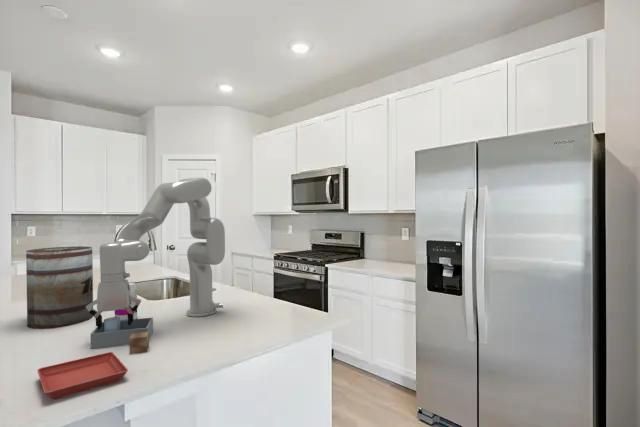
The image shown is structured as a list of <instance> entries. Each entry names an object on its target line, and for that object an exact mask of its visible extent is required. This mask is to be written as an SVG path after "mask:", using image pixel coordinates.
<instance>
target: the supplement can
mask: <svg viewBox="0 0 640 427" xmlns="http://www.w3.org/2000/svg"><path fill="white" fill-rule="evenodd" d="M129 286H130V293H131V296H133V297H135V298H138V287H137V285H136V283H135V282H129ZM135 304H136V302H133V301H131V305H130V306H131V307H132V308H133V307H134V306H135ZM128 314H129V313H128V312H127V311H126V310H125V309H123V310H114V317H120V320H128ZM133 319H138V308H137V309H136V310H135V311H134V312H133Z"/></svg>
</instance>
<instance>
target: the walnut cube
mask: <svg viewBox="0 0 640 427" xmlns="http://www.w3.org/2000/svg"><path fill="white" fill-rule="evenodd" d="M128 347H129V355H131V354H132V355H134V354H141V353H147V352H148V350H149V348H150V339H149V332H142V333H133V334H132V335H131V337H130V338H129V345H128ZM133 353H134V354H133Z"/></svg>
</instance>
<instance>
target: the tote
mask: <svg viewBox="0 0 640 427" xmlns="http://www.w3.org/2000/svg"><path fill="white" fill-rule="evenodd" d="M153 331H154V317H143V318H136V319H133V322H132V323H131V325H128V320H120V330H119V331H109V332H104V321H102V327H101V328H100V329H98V326H95V328H94V330H93V331H92V332H90V350H93V349H101V348H111V347H118V346H119V347H121V346H129V338H130V337H131V335H132V334H133V333H142V332H149V340H150V339H151V336H152V334H153Z"/></svg>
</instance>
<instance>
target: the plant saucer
mask: <svg viewBox="0 0 640 427" xmlns="http://www.w3.org/2000/svg"><path fill="white" fill-rule="evenodd" d="M115 354H116V353H114V352H112V351H109V352H104V353H101V354H96V355H91V356H86V357H82V358H79V359H73V360H70V361H65V362H61V363H57V364H53V365H48V366H44V367H40V368H38V369H36V370H37V375H38V377H39V380H40V383H41V387H42V389H43V392H44V394H45V395H46V396H47V397H49V398H51V399H52V400H57V399H61V398H64V397H67V396H72V395H74V394H78V393H81V392H85V391H88V390H91V389H95V388H99V387H102V386H105V385H109V384H113V383H116V382H119V381H121V379H122V378H123V377H124V376H125V375H126V374H127V373H128V371H129V369H128V368H127V367H126V366H125V364H124V363H123V362H122V361H121V360H120V359H119V358H118V356H117V355H115Z"/></svg>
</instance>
